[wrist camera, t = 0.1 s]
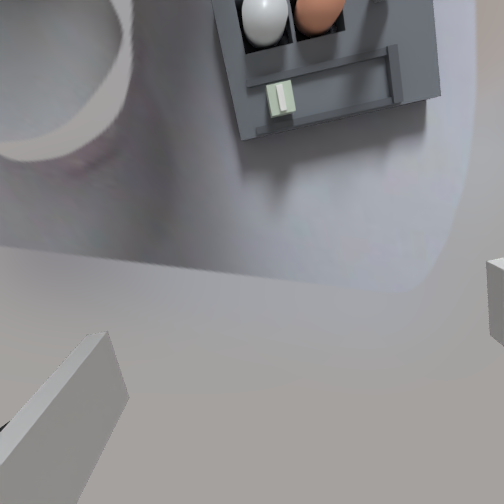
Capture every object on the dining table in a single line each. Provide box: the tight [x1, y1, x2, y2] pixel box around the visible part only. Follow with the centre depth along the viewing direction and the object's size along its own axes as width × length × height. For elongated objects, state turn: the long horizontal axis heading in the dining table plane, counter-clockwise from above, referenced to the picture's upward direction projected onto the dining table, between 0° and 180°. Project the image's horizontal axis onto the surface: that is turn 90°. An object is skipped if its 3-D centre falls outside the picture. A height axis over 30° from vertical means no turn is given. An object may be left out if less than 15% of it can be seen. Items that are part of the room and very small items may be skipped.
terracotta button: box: [294, 0, 345, 38], centre depth 33 cm, size 4×4×4 cm
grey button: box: [242, 0, 288, 49], centre depth 33 cm, size 4×4×4 cm
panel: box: [211, 0, 441, 141], centre depth 35 cm, size 12×18×4 cm, turn 102°
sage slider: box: [265, 80, 296, 118], centre depth 33 cm, size 2×2×3 cm
